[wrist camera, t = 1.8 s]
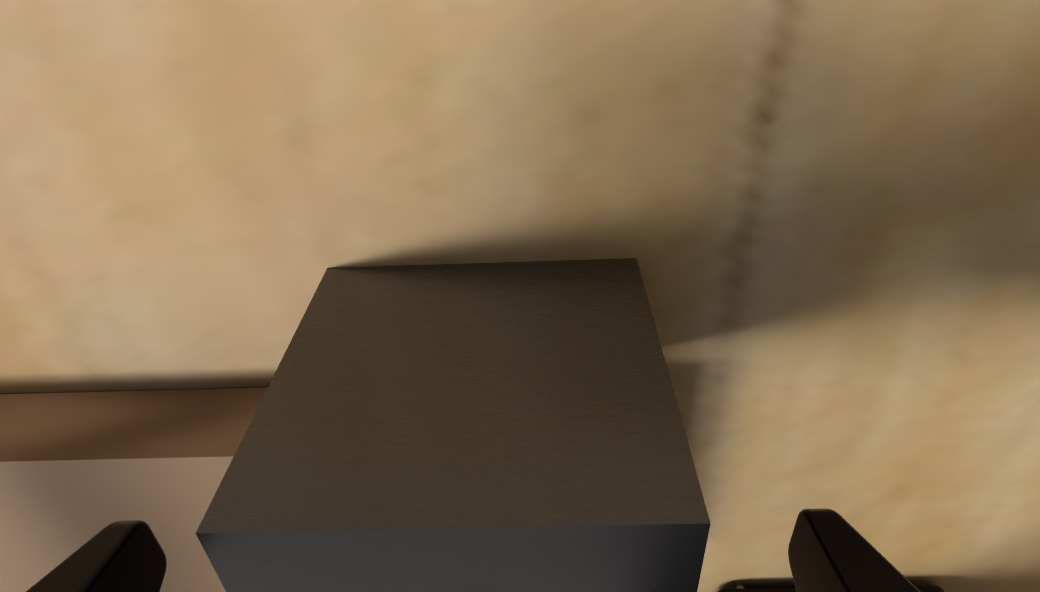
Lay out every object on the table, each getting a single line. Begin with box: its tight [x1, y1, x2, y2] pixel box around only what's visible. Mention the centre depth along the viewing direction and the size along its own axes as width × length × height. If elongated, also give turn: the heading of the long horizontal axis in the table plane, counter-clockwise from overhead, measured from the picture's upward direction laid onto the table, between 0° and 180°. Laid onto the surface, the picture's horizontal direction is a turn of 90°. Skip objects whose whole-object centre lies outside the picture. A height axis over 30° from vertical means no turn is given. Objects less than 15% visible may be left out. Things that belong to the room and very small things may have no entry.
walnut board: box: [0, 387, 268, 592], centre depth 15 cm, size 22×6×2 cm, turn 92°
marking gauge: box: [195, 258, 710, 592], centre depth 12 cm, size 6×9×6 cm
